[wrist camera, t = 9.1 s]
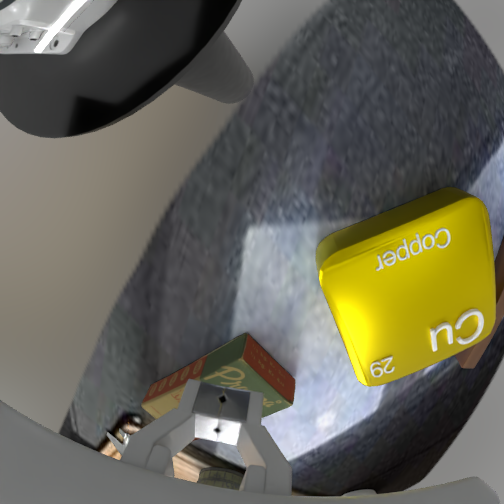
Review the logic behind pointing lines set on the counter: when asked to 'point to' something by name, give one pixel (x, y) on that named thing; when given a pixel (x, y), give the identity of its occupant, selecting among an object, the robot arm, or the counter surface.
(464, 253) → the element tile
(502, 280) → the back rail
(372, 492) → the milk bottle
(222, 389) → the robot arm
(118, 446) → the toy airplane
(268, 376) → the carton
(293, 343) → the counter surface
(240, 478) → the thermos
